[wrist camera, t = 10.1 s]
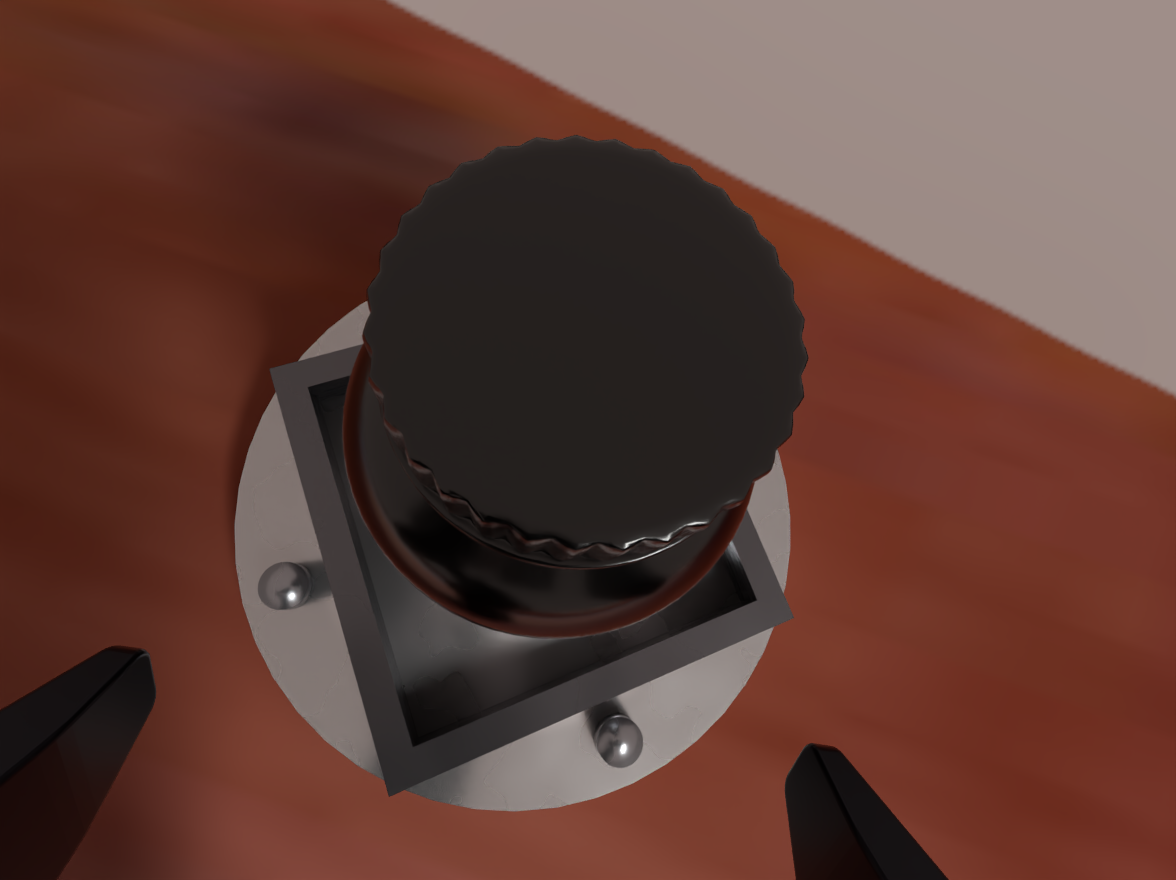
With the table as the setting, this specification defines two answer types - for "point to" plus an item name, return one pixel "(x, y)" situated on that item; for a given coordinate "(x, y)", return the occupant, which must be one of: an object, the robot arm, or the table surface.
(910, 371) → the table surface
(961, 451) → the table surface
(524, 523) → the supplement bottle
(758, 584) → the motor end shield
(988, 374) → the table surface
